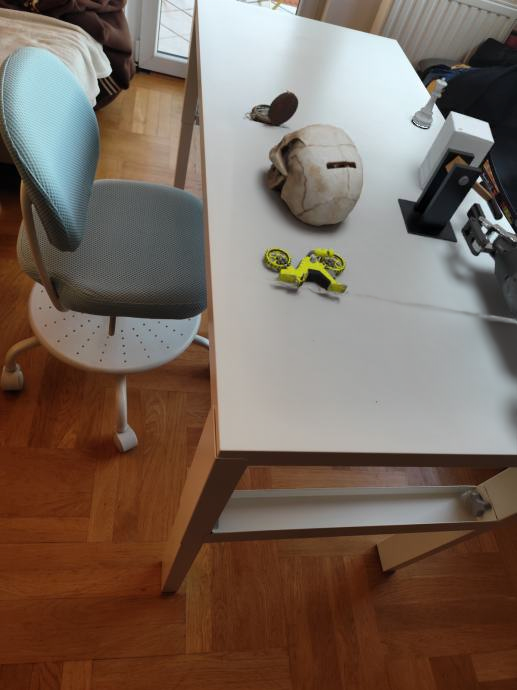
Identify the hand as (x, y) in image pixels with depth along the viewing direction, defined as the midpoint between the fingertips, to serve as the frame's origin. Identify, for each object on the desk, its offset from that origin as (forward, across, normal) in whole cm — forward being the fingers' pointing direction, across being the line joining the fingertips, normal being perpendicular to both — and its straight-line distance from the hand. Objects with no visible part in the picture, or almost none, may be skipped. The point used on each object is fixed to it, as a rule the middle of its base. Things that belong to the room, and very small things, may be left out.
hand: (496, 212), depth 78 cm
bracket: (+3, +8, +7) cm, 11 cm away
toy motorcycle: (-15, +31, +7) cm, 35 cm away
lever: (+3, +5, -1) cm, 6 cm away
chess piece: (+40, 0, +8) cm, 41 cm away
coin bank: (+4, +30, +7) cm, 31 cm away
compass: (+26, +36, +7) cm, 45 cm away
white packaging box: (+15, +3, +7) cm, 17 cm away
